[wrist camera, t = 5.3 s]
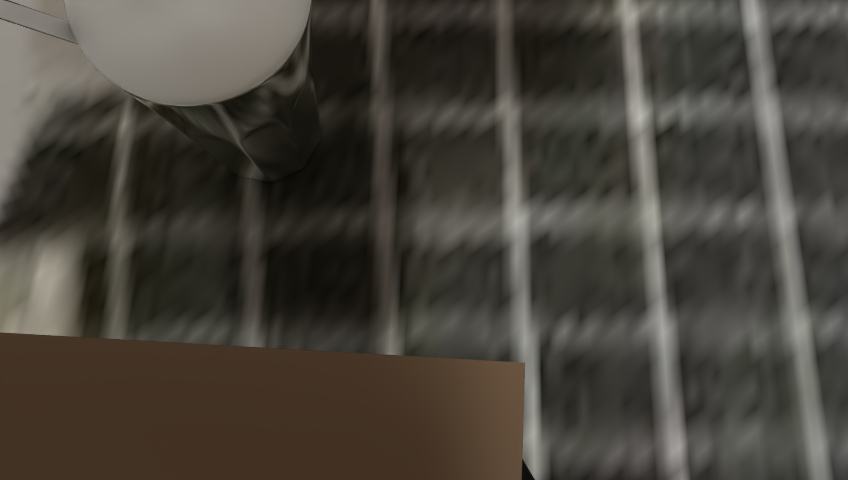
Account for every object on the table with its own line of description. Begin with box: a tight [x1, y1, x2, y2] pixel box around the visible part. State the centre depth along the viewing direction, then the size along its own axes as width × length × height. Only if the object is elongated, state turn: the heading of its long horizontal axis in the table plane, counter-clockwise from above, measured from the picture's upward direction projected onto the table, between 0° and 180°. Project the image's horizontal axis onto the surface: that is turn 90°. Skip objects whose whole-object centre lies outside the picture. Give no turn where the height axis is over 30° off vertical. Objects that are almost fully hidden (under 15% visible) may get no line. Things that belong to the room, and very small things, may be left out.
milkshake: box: [0, 0, 321, 182], centre depth 17 cm, size 5×5×10 cm
